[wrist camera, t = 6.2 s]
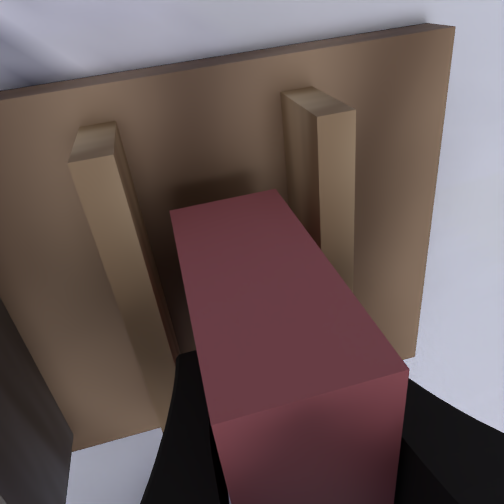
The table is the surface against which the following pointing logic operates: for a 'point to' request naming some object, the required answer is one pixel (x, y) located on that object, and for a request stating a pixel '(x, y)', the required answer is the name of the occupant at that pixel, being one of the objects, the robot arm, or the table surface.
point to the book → (287, 359)
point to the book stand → (189, 194)
